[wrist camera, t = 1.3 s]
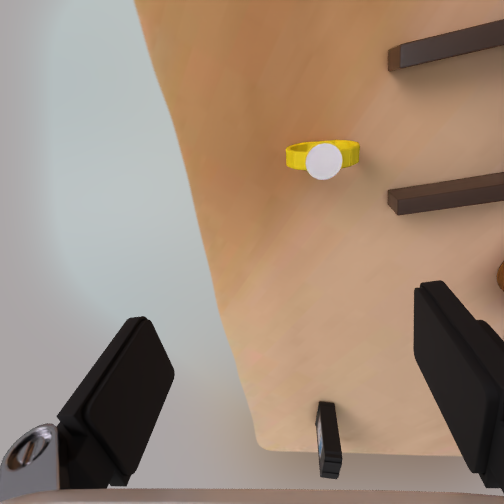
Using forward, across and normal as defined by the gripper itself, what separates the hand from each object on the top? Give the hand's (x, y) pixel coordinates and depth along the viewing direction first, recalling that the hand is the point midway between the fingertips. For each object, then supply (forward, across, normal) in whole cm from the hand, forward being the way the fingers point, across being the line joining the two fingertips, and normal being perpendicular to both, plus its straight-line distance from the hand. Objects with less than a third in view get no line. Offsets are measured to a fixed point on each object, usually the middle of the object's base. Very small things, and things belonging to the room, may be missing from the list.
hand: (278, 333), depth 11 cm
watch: (+21, -4, -2) cm, 22 cm away
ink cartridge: (+22, 0, +35) cm, 42 cm away
